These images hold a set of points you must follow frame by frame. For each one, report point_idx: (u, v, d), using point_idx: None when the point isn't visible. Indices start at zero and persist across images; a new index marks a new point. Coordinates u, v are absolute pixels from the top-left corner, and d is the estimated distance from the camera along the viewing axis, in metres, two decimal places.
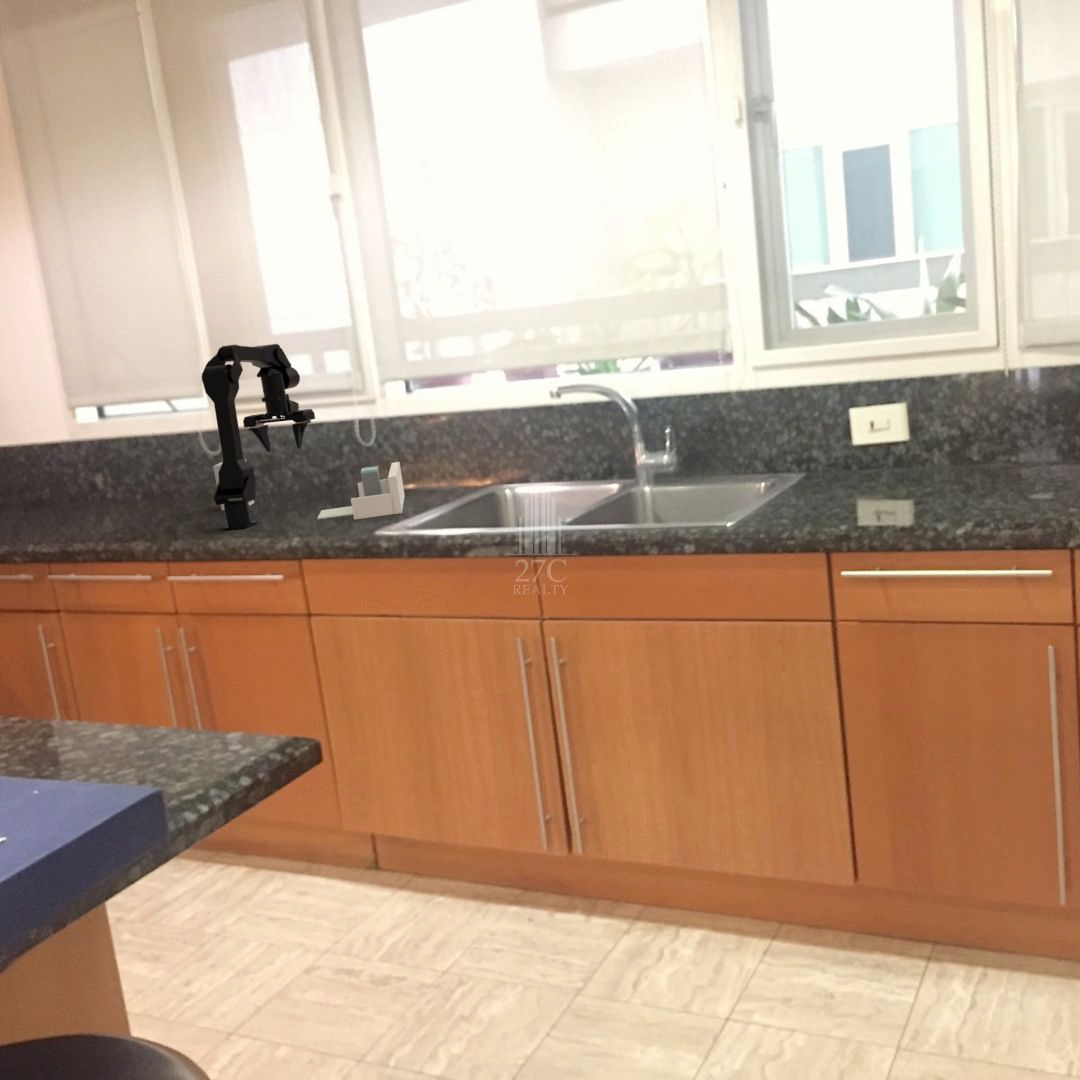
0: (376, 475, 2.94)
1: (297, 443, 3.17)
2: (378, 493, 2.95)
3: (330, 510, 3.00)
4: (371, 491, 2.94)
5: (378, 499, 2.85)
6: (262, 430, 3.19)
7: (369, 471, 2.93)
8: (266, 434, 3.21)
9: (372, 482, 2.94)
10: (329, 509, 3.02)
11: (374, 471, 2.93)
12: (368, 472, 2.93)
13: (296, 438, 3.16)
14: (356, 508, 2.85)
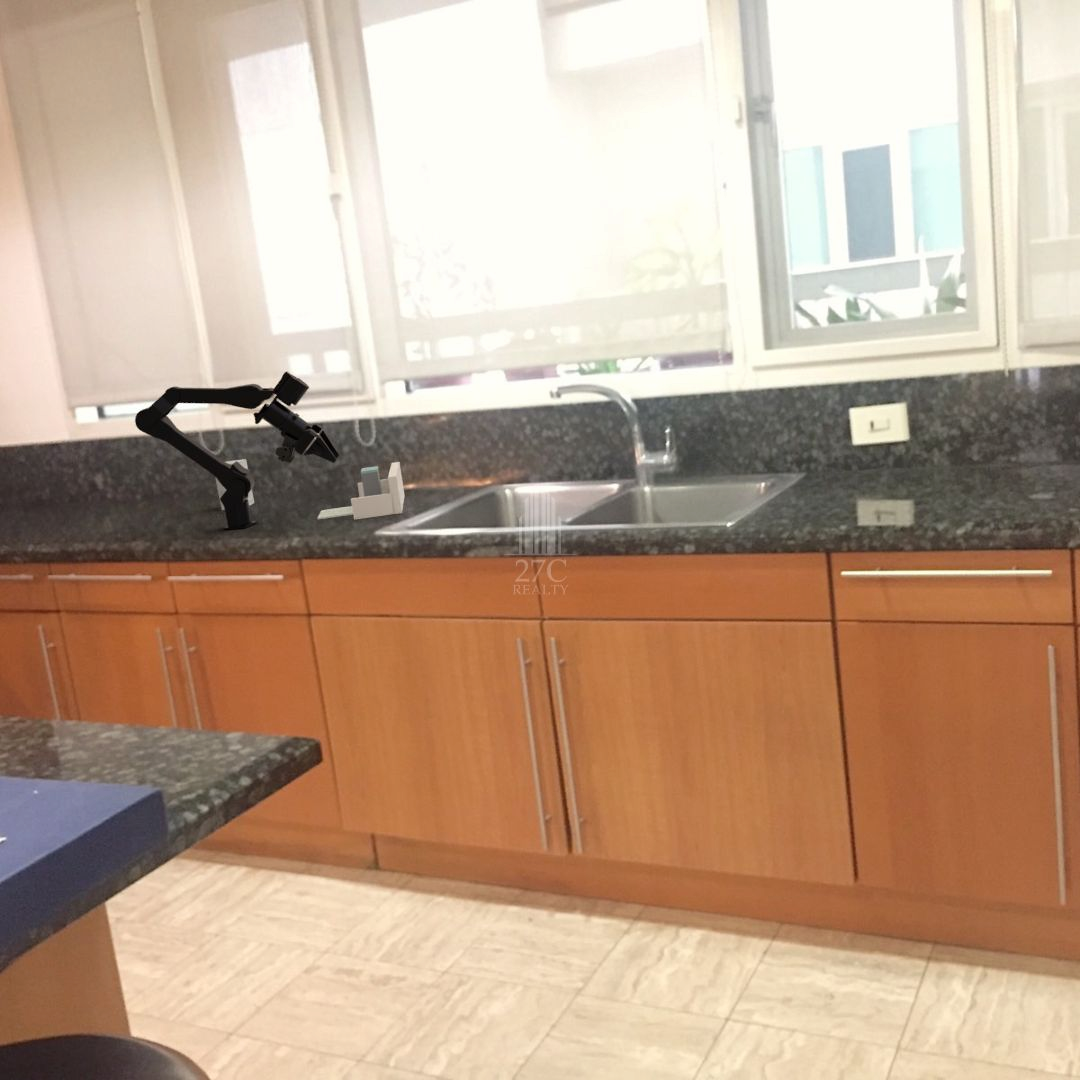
0: (376, 475, 2.94)
1: (335, 449, 2.99)
2: (378, 493, 2.95)
3: (330, 510, 3.00)
4: (371, 491, 2.94)
5: (378, 499, 2.85)
6: None
7: (369, 471, 2.93)
8: None
9: (372, 482, 2.94)
10: (329, 509, 3.02)
11: (374, 471, 2.93)
12: (368, 472, 2.93)
13: (332, 444, 2.99)
14: (356, 508, 2.85)
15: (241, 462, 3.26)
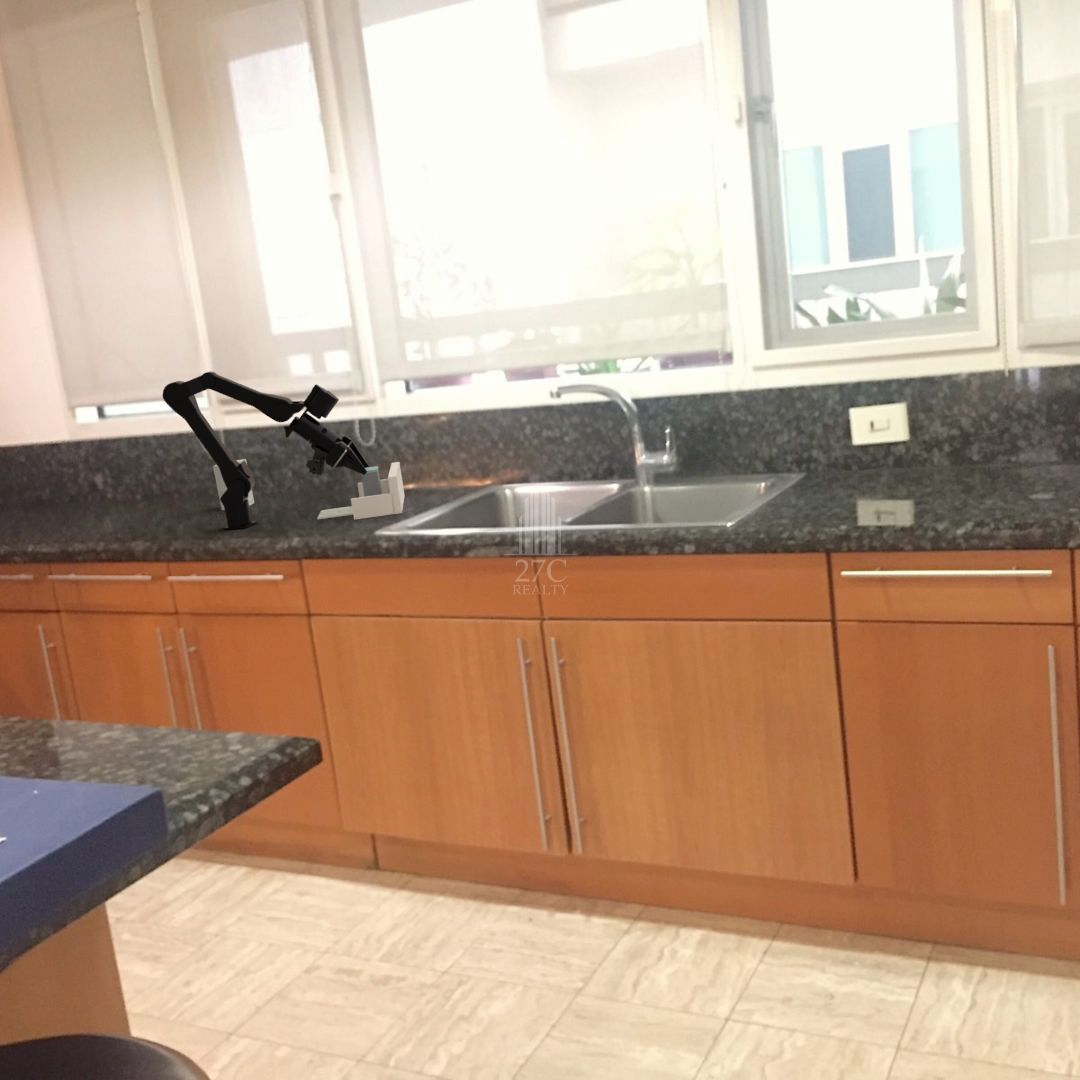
0: (376, 475, 2.94)
1: None
2: (378, 493, 2.95)
3: (330, 510, 3.00)
4: (371, 491, 2.94)
5: (378, 499, 2.85)
6: None
7: (369, 471, 2.93)
8: None
9: (372, 482, 2.94)
10: (329, 509, 3.02)
11: (374, 471, 2.93)
12: (368, 472, 2.93)
13: None
14: (356, 508, 2.85)
15: (241, 462, 3.26)
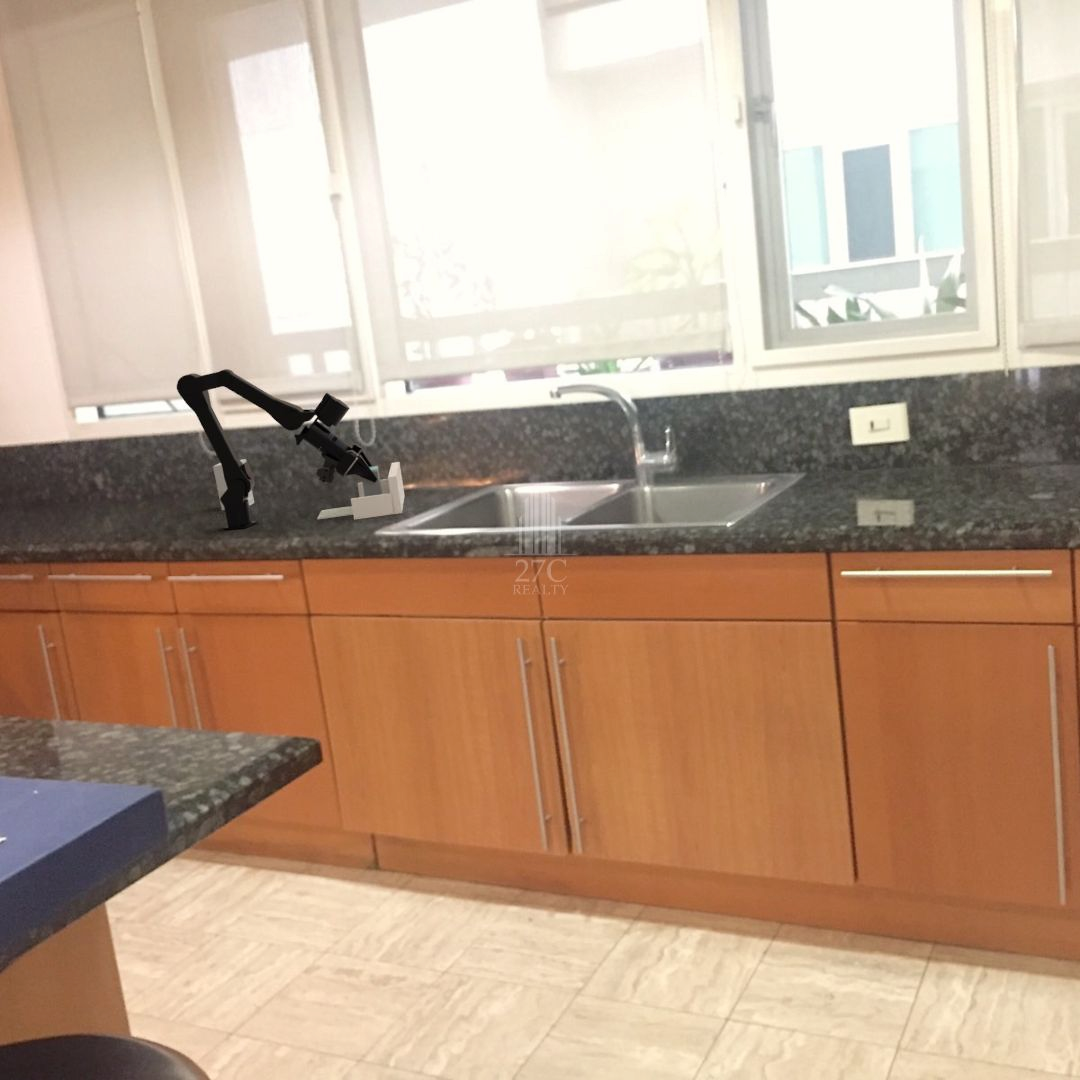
0: (376, 475, 2.94)
1: None
2: (378, 493, 2.95)
3: (330, 510, 3.00)
4: (371, 491, 2.94)
5: (378, 499, 2.85)
6: None
7: None
8: None
9: (372, 482, 2.94)
10: (329, 509, 3.02)
11: (374, 471, 2.93)
12: None
13: (371, 464, 3.00)
14: (356, 508, 2.85)
15: None
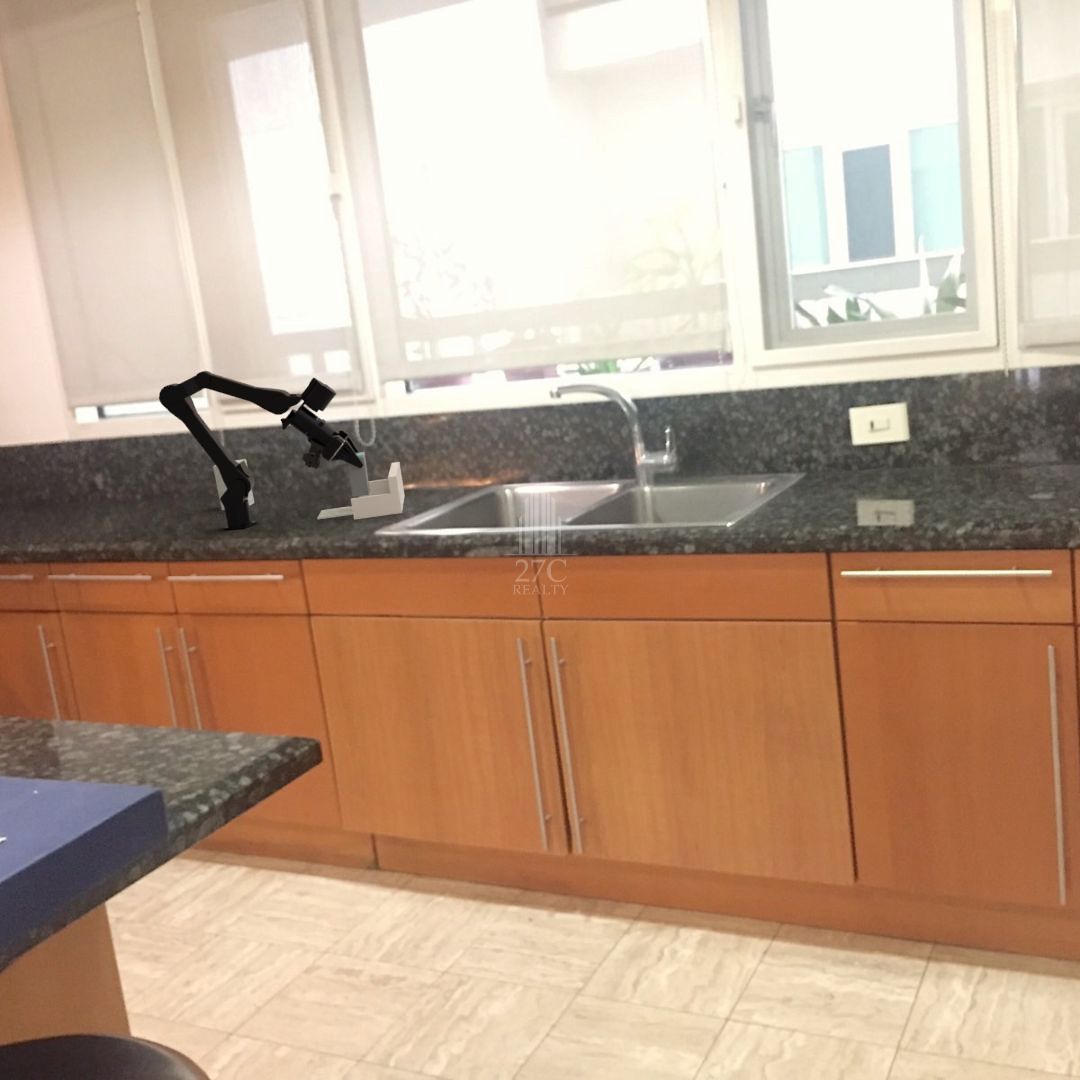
0: (362, 461, 2.93)
1: None
2: (364, 479, 2.94)
3: (330, 510, 3.00)
4: (357, 476, 2.93)
5: (378, 499, 2.85)
6: None
7: None
8: None
9: (358, 468, 2.93)
10: (329, 509, 3.02)
11: (360, 457, 2.92)
12: None
13: None
14: (356, 508, 2.85)
15: None
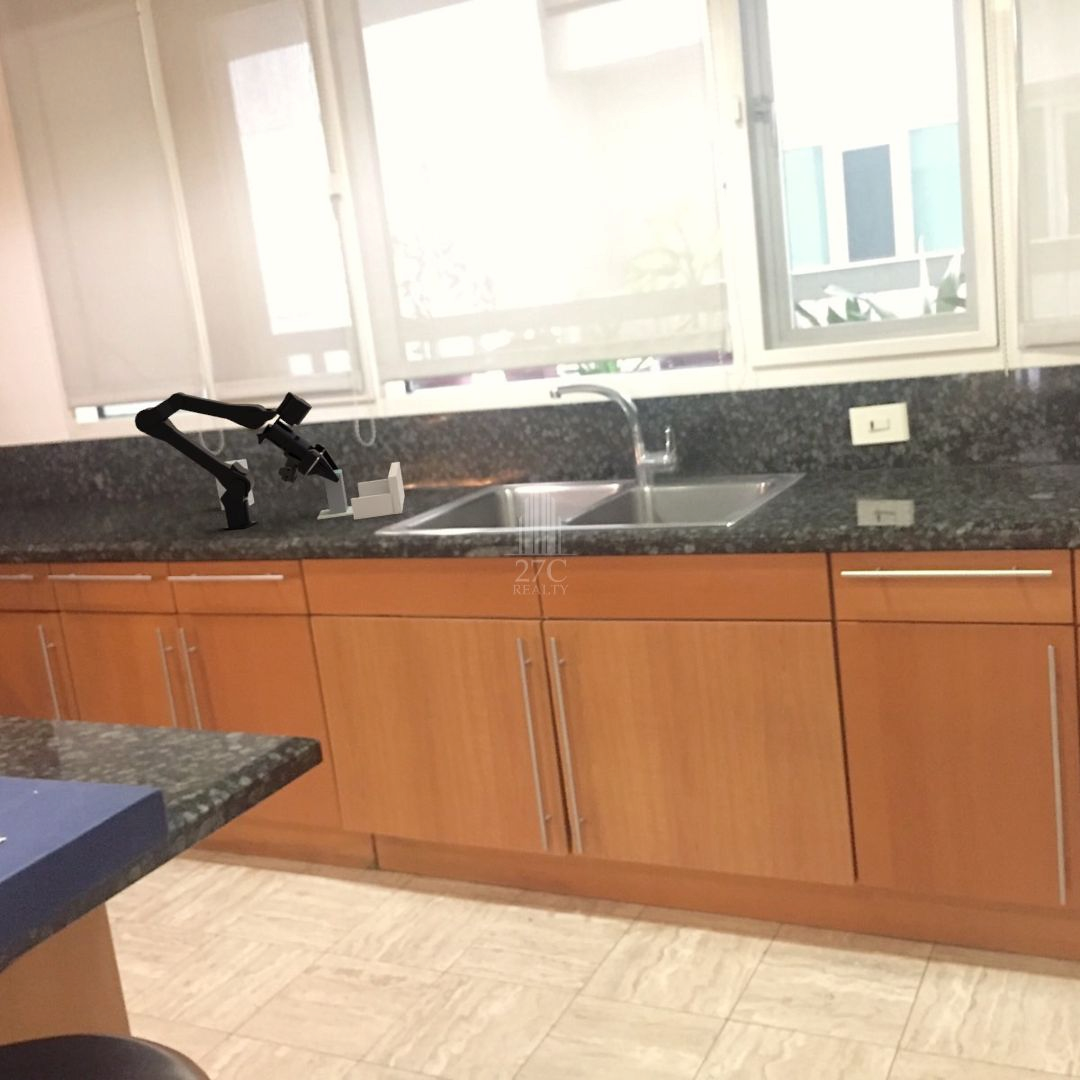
0: (339, 478, 2.93)
1: (338, 468, 3.00)
2: (341, 496, 2.94)
3: None
4: (334, 494, 2.94)
5: (378, 499, 2.85)
6: None
7: None
8: None
9: (335, 485, 2.93)
10: None
11: (337, 474, 2.93)
12: None
13: (335, 463, 3.00)
14: (356, 508, 2.85)
15: (241, 462, 3.26)
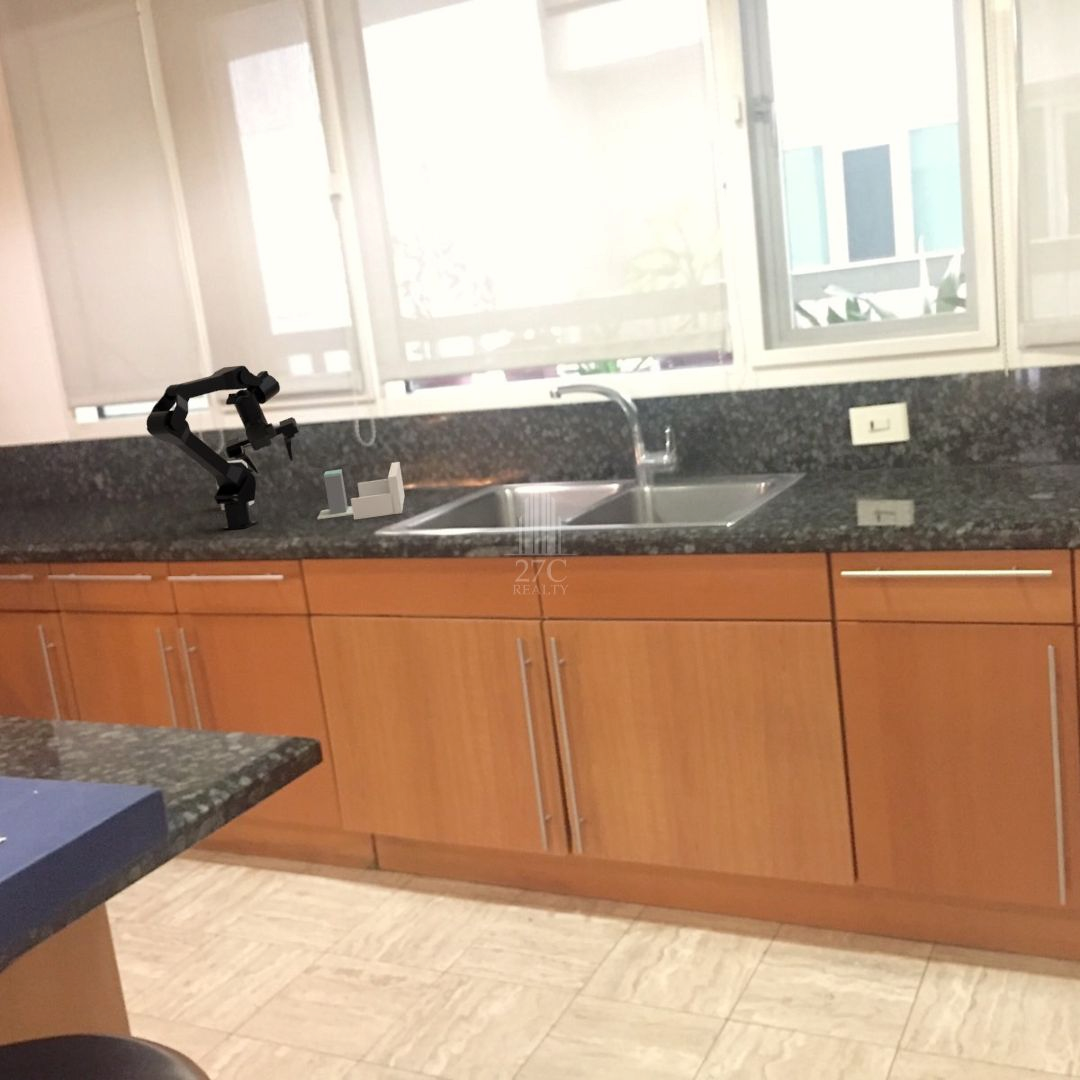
0: (339, 478, 2.93)
1: None
2: (341, 496, 2.94)
3: None
4: (334, 494, 2.94)
5: (378, 499, 2.85)
6: None
7: (332, 474, 2.93)
8: None
9: (335, 485, 2.93)
10: None
11: (337, 474, 2.93)
12: (331, 475, 2.93)
13: None
14: (356, 508, 2.85)
15: None
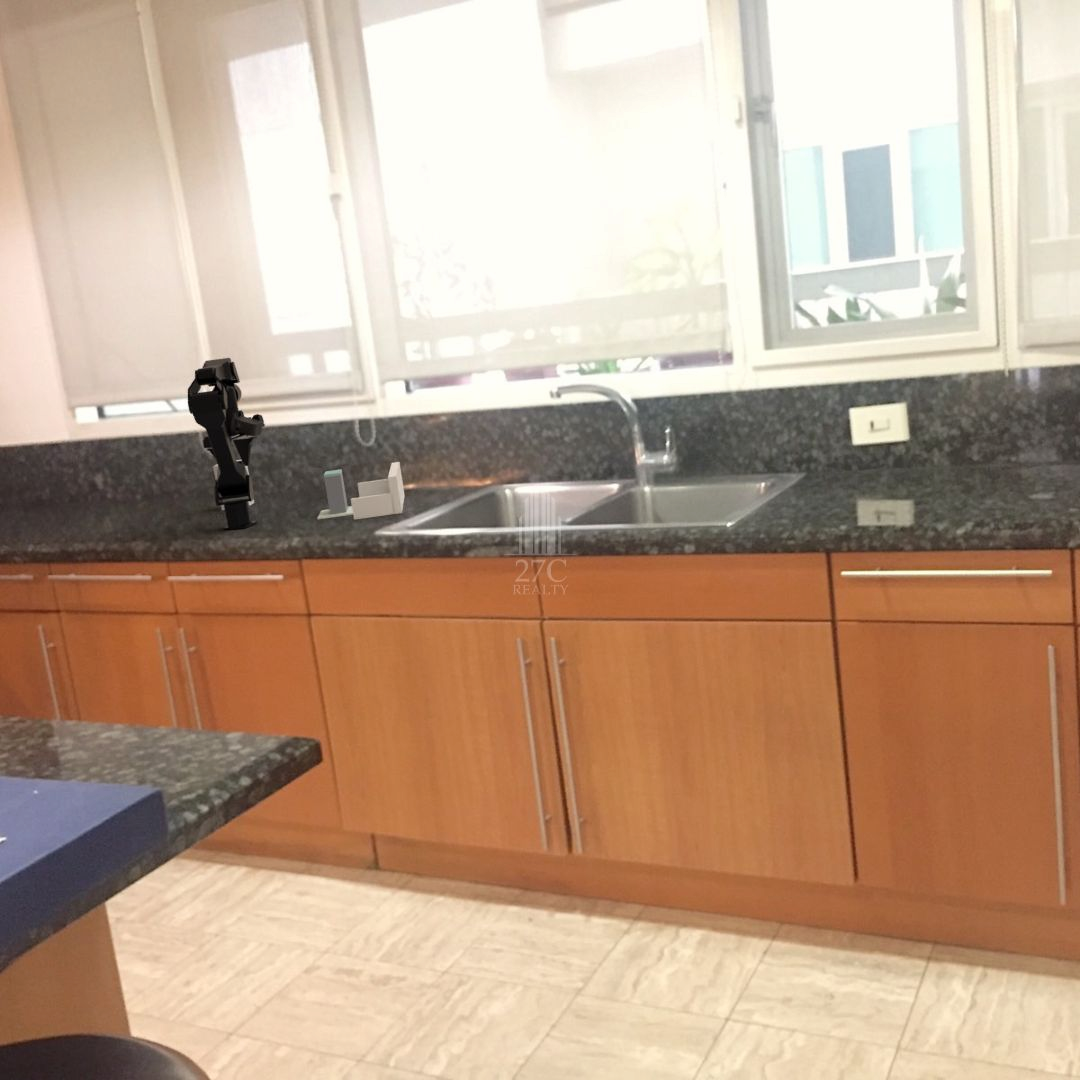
0: (339, 478, 2.93)
1: None
2: (341, 496, 2.94)
3: None
4: (334, 494, 2.94)
5: (378, 499, 2.85)
6: (240, 443, 3.08)
7: (332, 474, 2.93)
8: (246, 448, 3.08)
9: (335, 485, 2.93)
10: None
11: (337, 474, 2.93)
12: (331, 475, 2.93)
13: None
14: (356, 508, 2.85)
15: None
